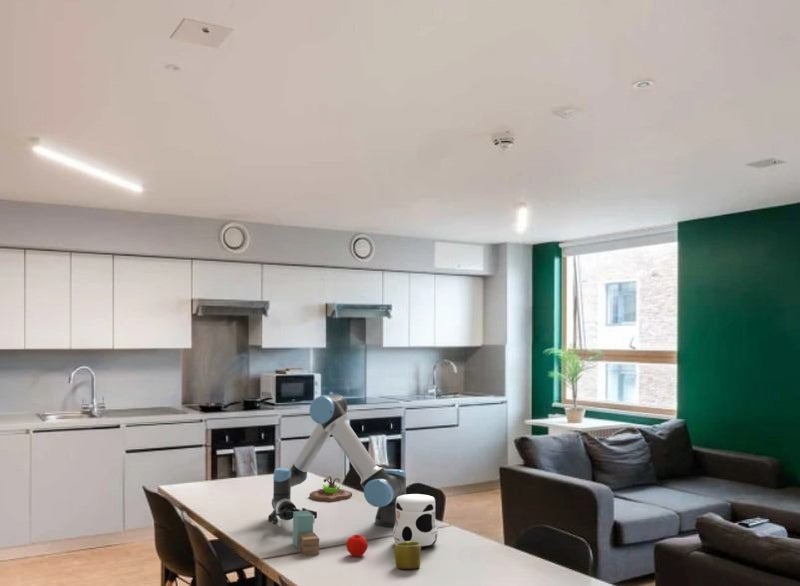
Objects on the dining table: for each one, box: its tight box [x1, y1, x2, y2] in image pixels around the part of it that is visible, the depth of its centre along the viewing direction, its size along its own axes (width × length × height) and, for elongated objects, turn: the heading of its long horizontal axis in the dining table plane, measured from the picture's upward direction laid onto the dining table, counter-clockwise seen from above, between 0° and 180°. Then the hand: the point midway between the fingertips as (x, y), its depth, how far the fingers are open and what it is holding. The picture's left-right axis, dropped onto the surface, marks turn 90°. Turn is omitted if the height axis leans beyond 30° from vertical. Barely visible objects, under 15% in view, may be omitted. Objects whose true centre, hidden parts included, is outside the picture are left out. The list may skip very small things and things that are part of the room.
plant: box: [309, 475, 353, 503], centre depth 357 cm, size 20×20×11 cm
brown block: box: [297, 531, 320, 557], centre depth 265 cm, size 9×6×6 cm
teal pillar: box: [292, 511, 314, 549], centre depth 274 cm, size 8×6×12 cm
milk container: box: [392, 493, 439, 549], centre depth 276 cm, size 17×17×18 cm
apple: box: [345, 534, 368, 558], centre depth 261 cm, size 8×8×7 cm
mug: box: [393, 541, 422, 570], centre depth 250 cm, size 12×10×10 cm
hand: (297, 521), depth 282 cm, fingers open, 13 cm apart
